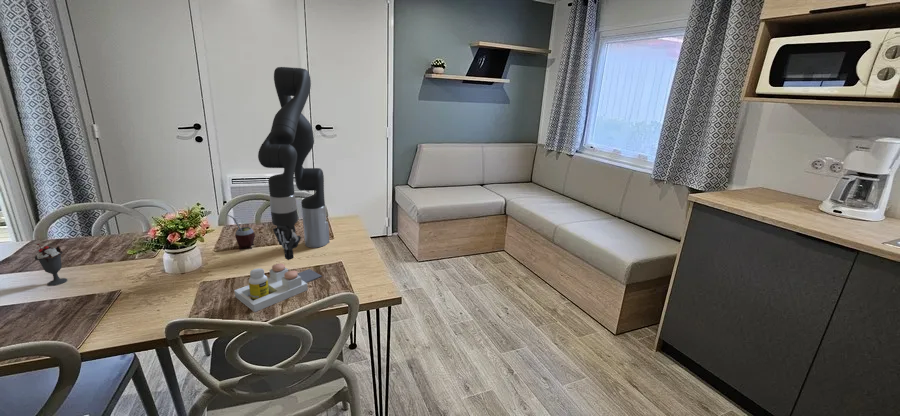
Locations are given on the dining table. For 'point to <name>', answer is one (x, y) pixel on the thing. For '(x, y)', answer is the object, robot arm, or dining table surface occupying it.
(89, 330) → the dining table surface
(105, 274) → the dining table surface
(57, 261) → the sundae
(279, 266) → the plunger
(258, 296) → the supplement bottle
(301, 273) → the pad
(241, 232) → the mate gourd
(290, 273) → the plunger
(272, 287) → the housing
